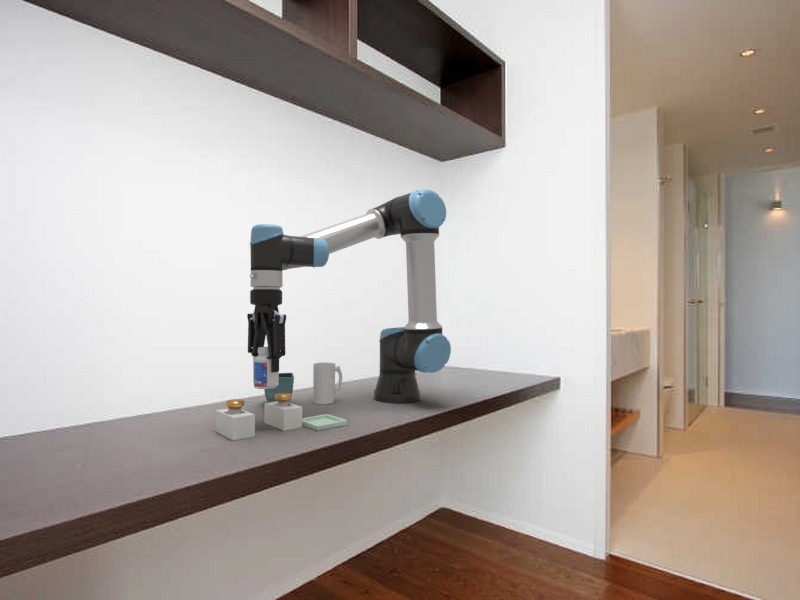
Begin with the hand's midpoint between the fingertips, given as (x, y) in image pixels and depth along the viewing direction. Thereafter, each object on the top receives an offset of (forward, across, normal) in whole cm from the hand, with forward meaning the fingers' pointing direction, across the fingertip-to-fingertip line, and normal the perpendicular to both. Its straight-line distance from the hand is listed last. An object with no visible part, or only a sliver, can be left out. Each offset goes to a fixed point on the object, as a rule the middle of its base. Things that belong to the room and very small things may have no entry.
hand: (265, 384), depth 114 cm
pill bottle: (+1, 0, 0) cm, 1 cm away
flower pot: (+11, -21, +17) cm, 30 cm away
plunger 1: (+10, -1, -7) cm, 13 cm away
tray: (+11, +7, +12) cm, 18 cm away
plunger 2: (+10, 0, +5) cm, 11 cm away
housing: (+11, 0, -1) cm, 11 cm away
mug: (+11, -14, +31) cm, 36 cm away
